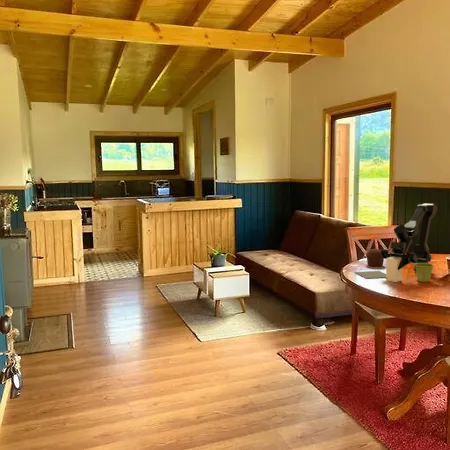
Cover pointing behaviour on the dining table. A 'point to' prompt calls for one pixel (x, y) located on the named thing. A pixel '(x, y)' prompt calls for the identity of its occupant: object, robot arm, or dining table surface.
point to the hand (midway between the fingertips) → (392, 268)
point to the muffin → (374, 258)
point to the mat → (371, 274)
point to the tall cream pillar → (393, 269)
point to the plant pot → (423, 271)
